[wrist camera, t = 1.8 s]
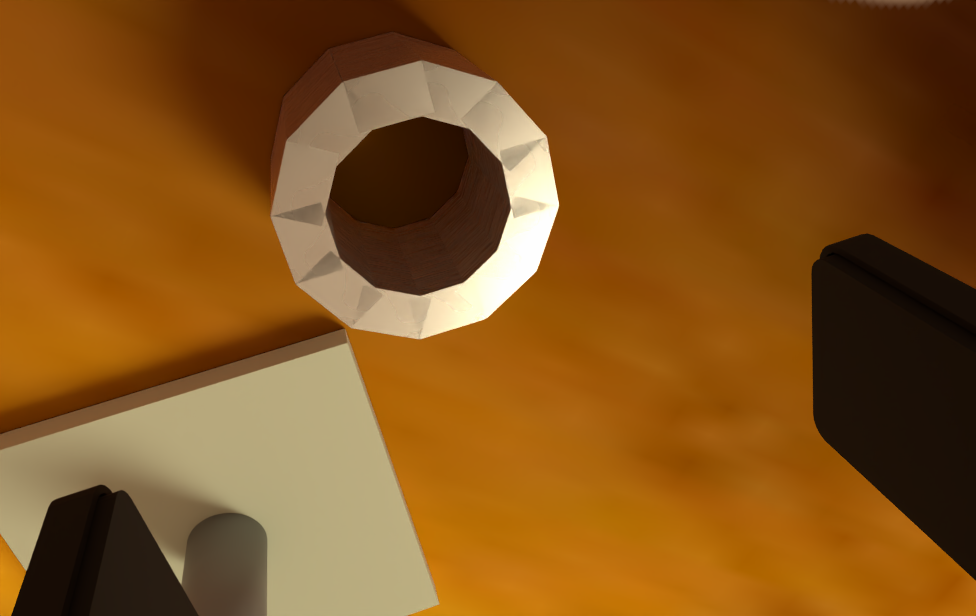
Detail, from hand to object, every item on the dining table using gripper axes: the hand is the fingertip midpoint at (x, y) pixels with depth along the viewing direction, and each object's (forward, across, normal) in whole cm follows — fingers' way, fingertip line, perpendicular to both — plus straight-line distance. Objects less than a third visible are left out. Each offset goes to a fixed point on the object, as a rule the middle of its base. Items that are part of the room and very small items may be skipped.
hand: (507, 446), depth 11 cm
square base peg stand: (+15, +8, +11) cm, 21 cm away
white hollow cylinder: (+15, -1, 0) cm, 15 cm away
